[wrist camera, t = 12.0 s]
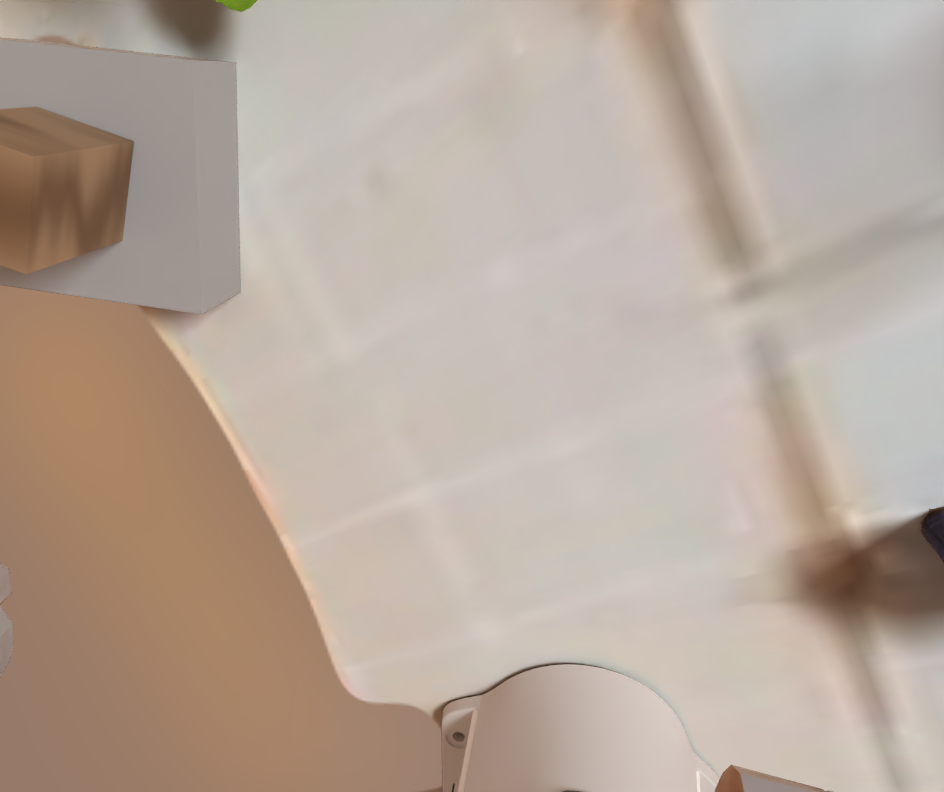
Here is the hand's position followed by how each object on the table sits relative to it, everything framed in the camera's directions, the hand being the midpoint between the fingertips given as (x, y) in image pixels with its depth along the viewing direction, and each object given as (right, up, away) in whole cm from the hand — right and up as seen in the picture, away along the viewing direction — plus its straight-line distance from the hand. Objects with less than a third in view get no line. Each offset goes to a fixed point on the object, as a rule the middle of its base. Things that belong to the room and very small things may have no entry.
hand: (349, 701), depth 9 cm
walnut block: (-18, +14, +29) cm, 37 cm away
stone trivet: (-17, +16, +34) cm, 41 cm away
